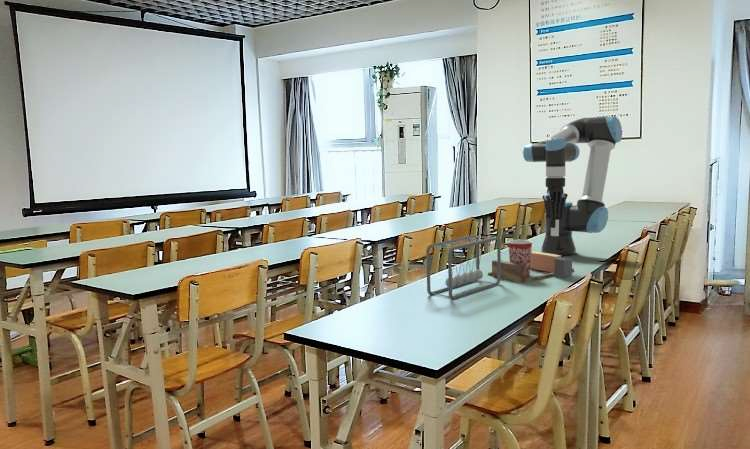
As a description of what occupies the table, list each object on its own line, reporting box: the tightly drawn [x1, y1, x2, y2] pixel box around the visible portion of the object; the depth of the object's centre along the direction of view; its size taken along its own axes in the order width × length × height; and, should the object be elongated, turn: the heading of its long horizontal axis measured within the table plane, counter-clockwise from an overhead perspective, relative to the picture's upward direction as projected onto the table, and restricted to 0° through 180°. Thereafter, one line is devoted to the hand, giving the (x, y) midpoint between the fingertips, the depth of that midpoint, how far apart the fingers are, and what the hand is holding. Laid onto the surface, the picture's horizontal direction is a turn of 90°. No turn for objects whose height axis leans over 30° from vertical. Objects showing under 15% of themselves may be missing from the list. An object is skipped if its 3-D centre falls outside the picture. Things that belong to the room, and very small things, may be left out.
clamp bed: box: [487, 259, 575, 284], centre depth 233 cm, size 29×18×6 cm, turn 125°
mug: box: [507, 239, 533, 279], centre depth 230 cm, size 13×9×14 cm
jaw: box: [530, 250, 562, 273], centre depth 237 cm, size 3×14×7 cm, turn 35°
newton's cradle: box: [425, 234, 502, 300], centre depth 210 cm, size 30×10×18 cm, turn 135°
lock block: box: [554, 256, 573, 280], centre depth 225 cm, size 4×4×7 cm
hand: (554, 235), depth 240 cm, fingers closed
